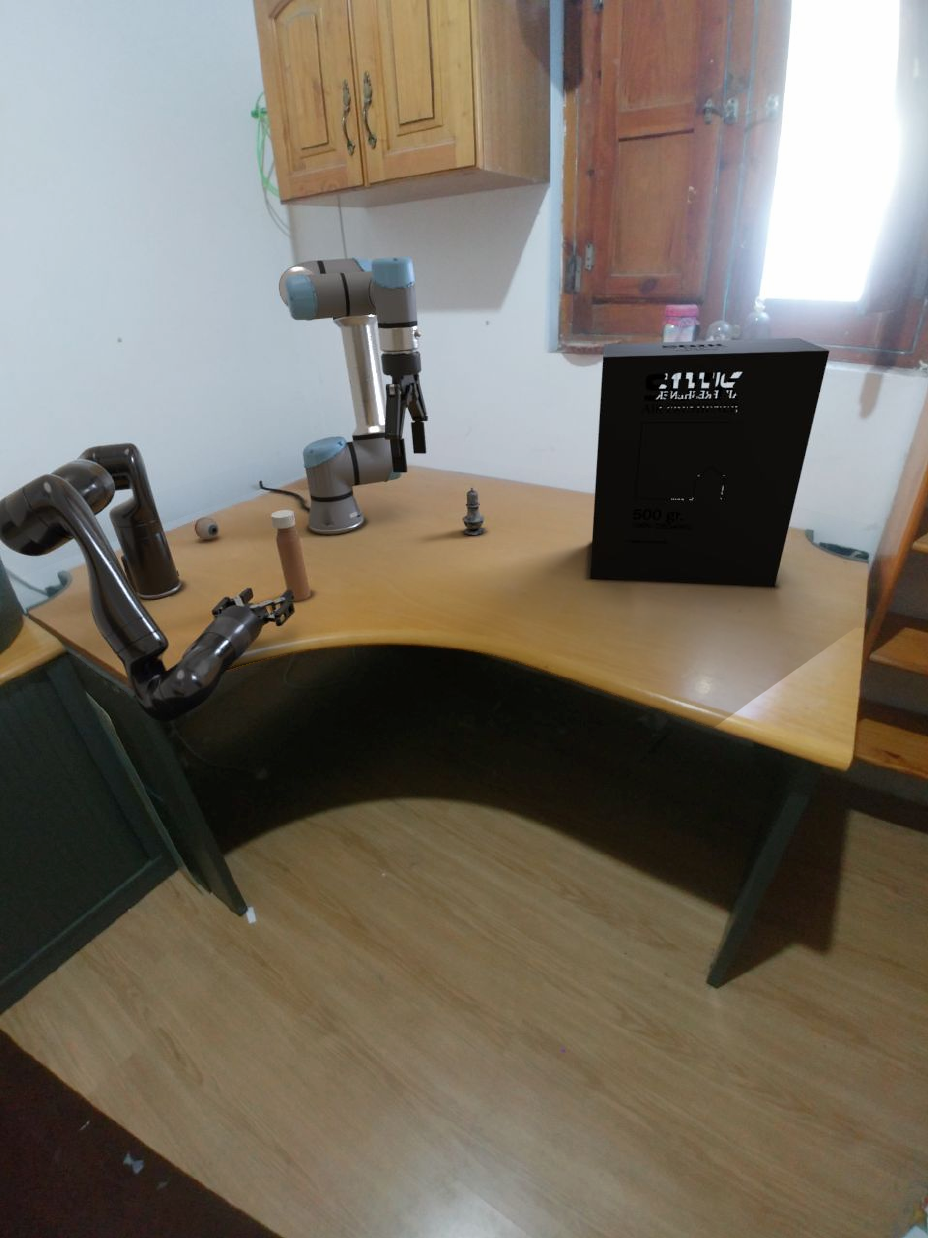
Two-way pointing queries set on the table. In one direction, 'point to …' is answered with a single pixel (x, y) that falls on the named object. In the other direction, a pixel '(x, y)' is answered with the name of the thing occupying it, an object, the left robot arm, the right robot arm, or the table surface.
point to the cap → (283, 519)
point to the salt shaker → (473, 515)
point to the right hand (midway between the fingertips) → (410, 462)
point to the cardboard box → (701, 458)
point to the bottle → (292, 563)
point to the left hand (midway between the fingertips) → (270, 592)
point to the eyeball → (206, 528)
